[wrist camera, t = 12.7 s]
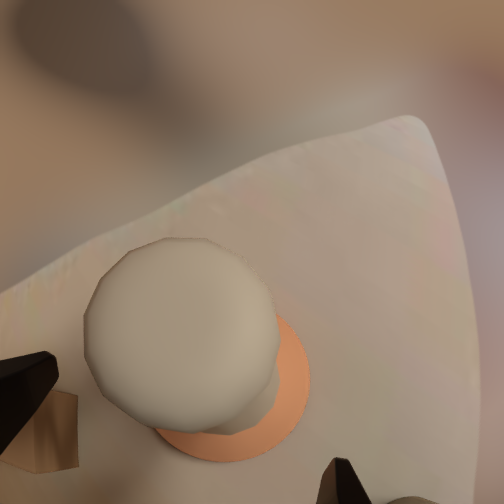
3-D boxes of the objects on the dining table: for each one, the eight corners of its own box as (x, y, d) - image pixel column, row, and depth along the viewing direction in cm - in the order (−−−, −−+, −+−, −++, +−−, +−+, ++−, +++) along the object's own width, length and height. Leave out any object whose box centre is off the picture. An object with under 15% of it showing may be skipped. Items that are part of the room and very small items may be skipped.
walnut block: (79, 466, 15) (35, 474, 10) (23, 450, 15) (-23, 449, 10) (78, 395, 17) (34, 386, 13) (23, 386, 17) (-22, 372, 13)
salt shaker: (156, 397, 17) (-1, 351, 5) (206, 317, 19) (139, 160, 8) (245, 449, 15) (227, 530, 4) (294, 363, 18) (369, 261, 6)
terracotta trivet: (279, 479, 15) (280, 482, 14) (120, 422, 16) (115, 422, 16) (325, 325, 19) (328, 322, 19) (176, 281, 21) (173, 276, 20)
